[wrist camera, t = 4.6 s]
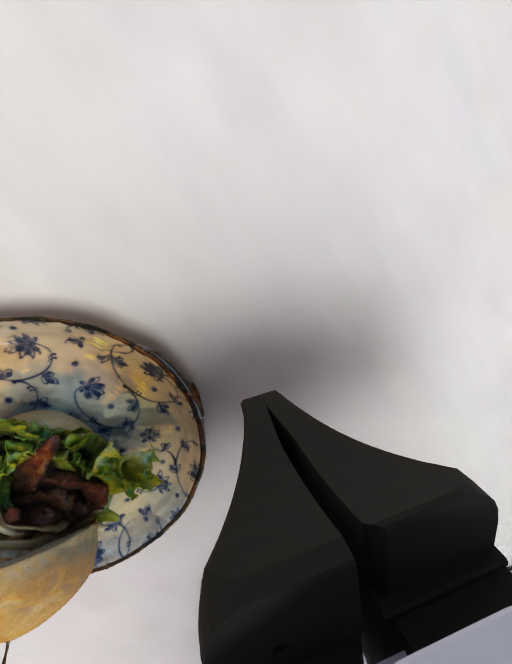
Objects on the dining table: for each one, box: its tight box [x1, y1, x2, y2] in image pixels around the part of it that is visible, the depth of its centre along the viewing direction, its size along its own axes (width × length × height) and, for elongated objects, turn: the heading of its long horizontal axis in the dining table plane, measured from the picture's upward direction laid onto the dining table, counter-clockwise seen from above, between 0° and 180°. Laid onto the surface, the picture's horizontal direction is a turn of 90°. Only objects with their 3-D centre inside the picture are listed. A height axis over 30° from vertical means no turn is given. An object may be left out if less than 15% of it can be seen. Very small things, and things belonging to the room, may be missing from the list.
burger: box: [0, 317, 206, 664], centre depth 10 cm, size 12×12×8 cm
